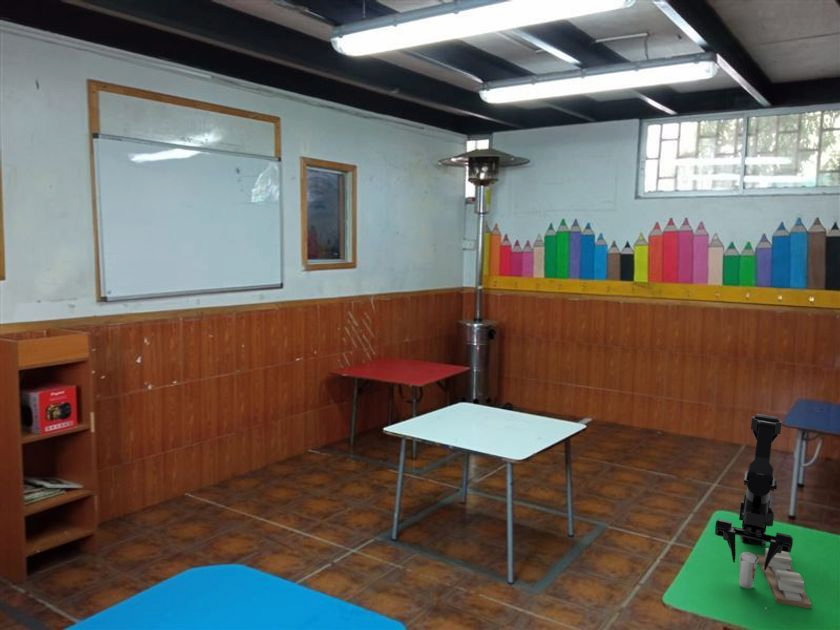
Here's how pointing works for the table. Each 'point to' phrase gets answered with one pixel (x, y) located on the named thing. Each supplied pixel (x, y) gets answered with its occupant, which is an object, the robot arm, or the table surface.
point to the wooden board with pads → (784, 580)
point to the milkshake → (747, 569)
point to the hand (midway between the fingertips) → (749, 565)
